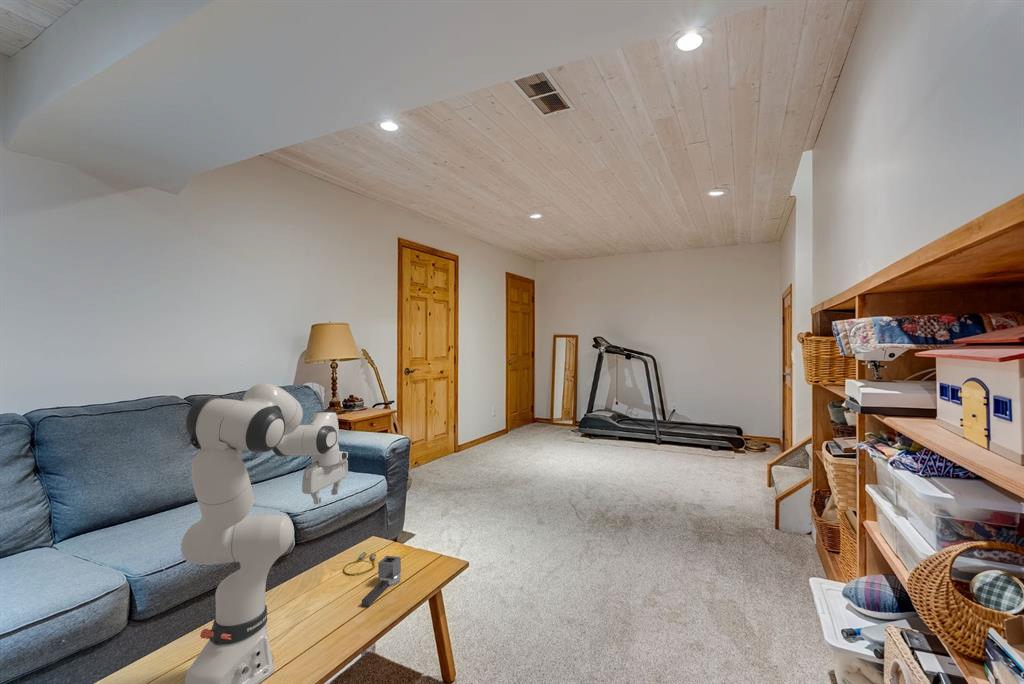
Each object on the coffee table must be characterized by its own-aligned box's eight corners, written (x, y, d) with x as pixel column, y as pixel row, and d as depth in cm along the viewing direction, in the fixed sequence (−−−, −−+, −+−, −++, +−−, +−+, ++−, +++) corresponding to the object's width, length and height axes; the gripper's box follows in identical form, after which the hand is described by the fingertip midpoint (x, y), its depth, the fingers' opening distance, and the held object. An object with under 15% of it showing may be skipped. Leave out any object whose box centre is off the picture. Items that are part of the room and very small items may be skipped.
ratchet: (375, 608, 146) (374, 590, 146) (355, 605, 147) (355, 588, 147) (404, 577, 165) (403, 561, 165) (386, 575, 166) (386, 560, 166)
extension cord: (388, 561, 178) (388, 556, 178) (358, 580, 164) (357, 574, 164) (365, 555, 184) (365, 550, 184) (333, 572, 170) (333, 567, 170)
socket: (393, 579, 159) (392, 564, 159) (378, 577, 160) (378, 562, 160) (400, 571, 164) (400, 557, 164) (386, 569, 165) (386, 555, 165)
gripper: (313, 466, 146) (314, 510, 146) (350, 451, 166) (351, 490, 166) (296, 465, 147) (297, 509, 147) (335, 451, 167) (336, 489, 167)
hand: (326, 498), depth 157 cm, fingers open, 8 cm apart
